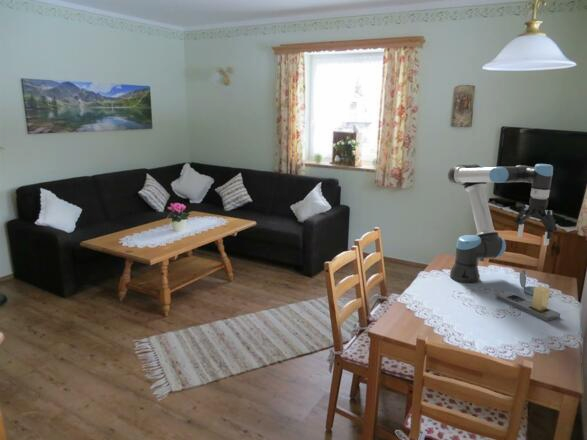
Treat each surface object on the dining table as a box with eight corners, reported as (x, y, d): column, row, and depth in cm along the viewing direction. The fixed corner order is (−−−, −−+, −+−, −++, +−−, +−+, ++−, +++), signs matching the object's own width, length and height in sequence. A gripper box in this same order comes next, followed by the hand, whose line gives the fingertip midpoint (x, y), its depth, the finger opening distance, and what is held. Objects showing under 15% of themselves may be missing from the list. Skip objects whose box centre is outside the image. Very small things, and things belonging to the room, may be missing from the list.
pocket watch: (523, 266, 222) (556, 273, 212) (520, 285, 225) (553, 294, 215) (518, 271, 215) (552, 279, 205) (515, 291, 217) (548, 300, 208)
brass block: (530, 311, 195) (534, 287, 192) (536, 309, 197) (541, 285, 194) (539, 315, 191) (543, 291, 188) (546, 314, 193) (550, 289, 190)
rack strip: (496, 298, 209) (496, 294, 208) (508, 295, 213) (509, 291, 212) (546, 321, 186) (547, 317, 186) (559, 317, 190) (560, 313, 189)
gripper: (510, 193, 208) (504, 235, 214) (560, 203, 187) (552, 249, 192) (520, 192, 211) (514, 233, 217) (570, 202, 190) (562, 247, 195)
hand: (532, 241), depth 204 cm, fingers open, 13 cm apart
